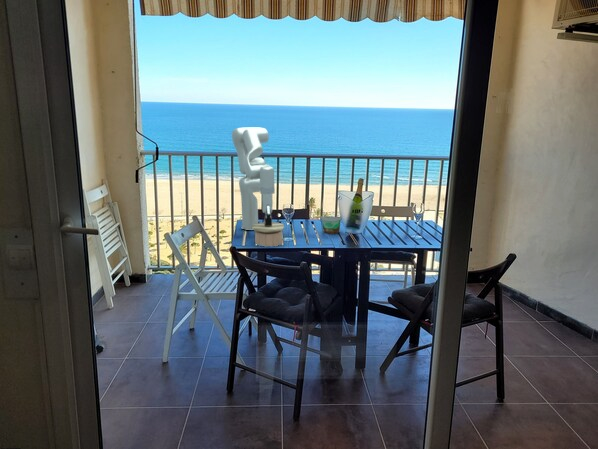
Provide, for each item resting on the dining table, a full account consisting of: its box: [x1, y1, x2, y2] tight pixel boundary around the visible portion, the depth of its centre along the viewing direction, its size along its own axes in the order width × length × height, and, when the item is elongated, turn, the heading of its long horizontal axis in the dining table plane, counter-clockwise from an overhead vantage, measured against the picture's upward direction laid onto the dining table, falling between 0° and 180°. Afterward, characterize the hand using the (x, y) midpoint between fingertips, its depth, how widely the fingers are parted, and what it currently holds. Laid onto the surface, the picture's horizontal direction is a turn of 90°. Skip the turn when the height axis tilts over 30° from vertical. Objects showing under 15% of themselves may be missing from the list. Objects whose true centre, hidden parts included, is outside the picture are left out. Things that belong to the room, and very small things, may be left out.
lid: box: [252, 215, 285, 233], centre depth 235 cm, size 17×17×6 cm
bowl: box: [254, 230, 283, 247], centre depth 237 cm, size 14×14×7 cm
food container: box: [320, 215, 343, 235], centre depth 254 cm, size 12×6×10 cm, turn 82°
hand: (268, 223), depth 235 cm, fingers closed on lid, 3 cm apart
